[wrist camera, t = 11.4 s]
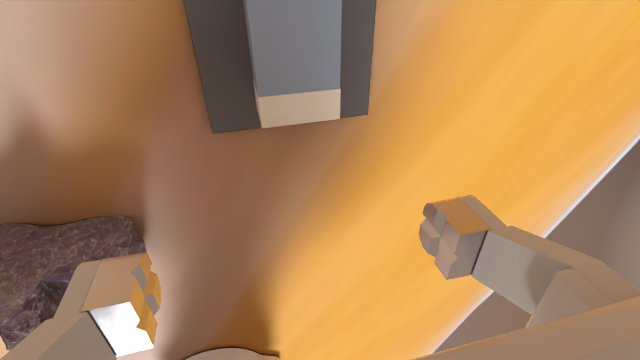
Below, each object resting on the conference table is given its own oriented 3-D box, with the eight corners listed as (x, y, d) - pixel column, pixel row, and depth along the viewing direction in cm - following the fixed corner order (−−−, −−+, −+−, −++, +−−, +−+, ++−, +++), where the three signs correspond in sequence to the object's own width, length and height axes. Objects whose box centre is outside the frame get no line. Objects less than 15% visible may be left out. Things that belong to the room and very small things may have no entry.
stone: (142, 305, 25) (-149, 329, 19) (146, 348, 28) (-100, 379, 23) (157, 209, 33) (-47, 208, 27) (158, 252, 36) (-22, 258, 31)
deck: (235, -52, 22) (239, -52, 18) (325, -54, 23) (343, -54, 20) (256, 107, 28) (262, 128, 25) (326, 99, 29) (340, 118, 26)
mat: (364, 111, 32) (367, 114, 31) (212, 129, 29) (212, 133, 28) (378, -92, 23) (383, -93, 22) (164, -93, 20) (162, -94, 20)
